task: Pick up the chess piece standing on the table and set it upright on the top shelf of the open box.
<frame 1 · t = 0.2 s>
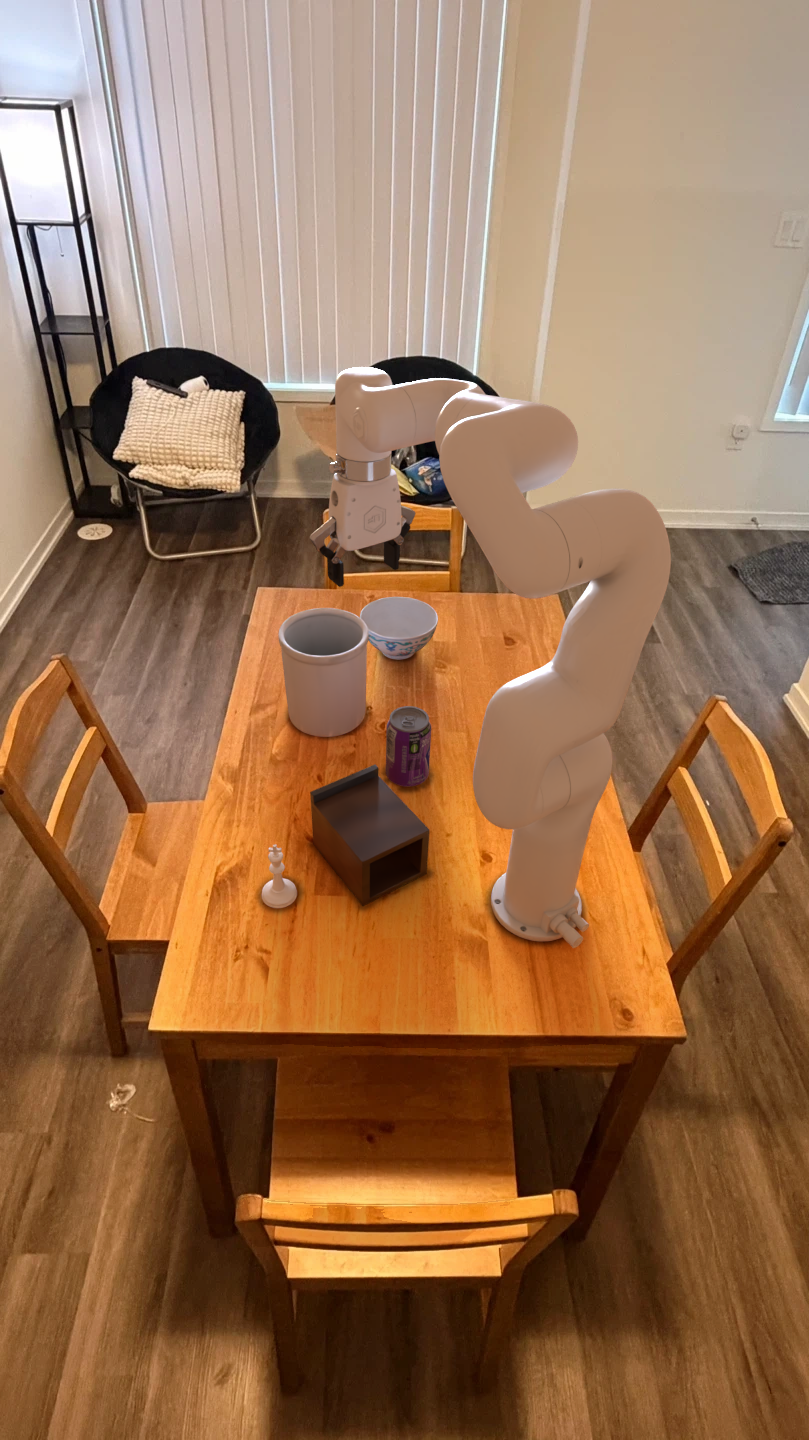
hand: (364, 574, 129), 31 cm above the table, tool pointing down, fingers open, 9 cm apart
beverage can: (407, 775, 140), on the table
open box: (369, 858, 126), on the table
utensil holder: (326, 714, 152), on the table
chinaware: (398, 650, 168), on the table
chess piece: (279, 895, 120), on the table
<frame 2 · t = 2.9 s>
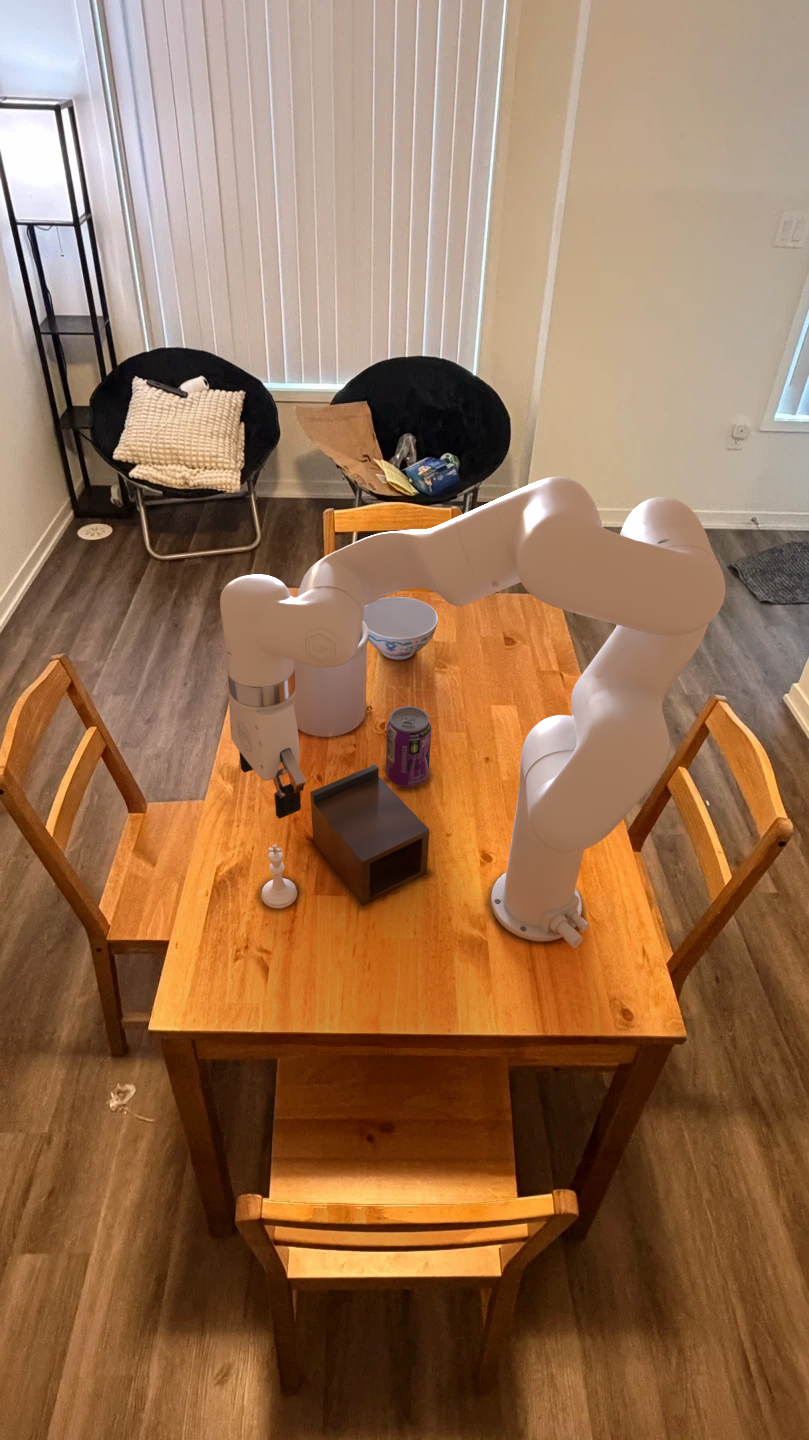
hand: (270, 789, 108), 20 cm above the table, tool pointing down, fingers open, 9 cm apart
nothing on the table moved.
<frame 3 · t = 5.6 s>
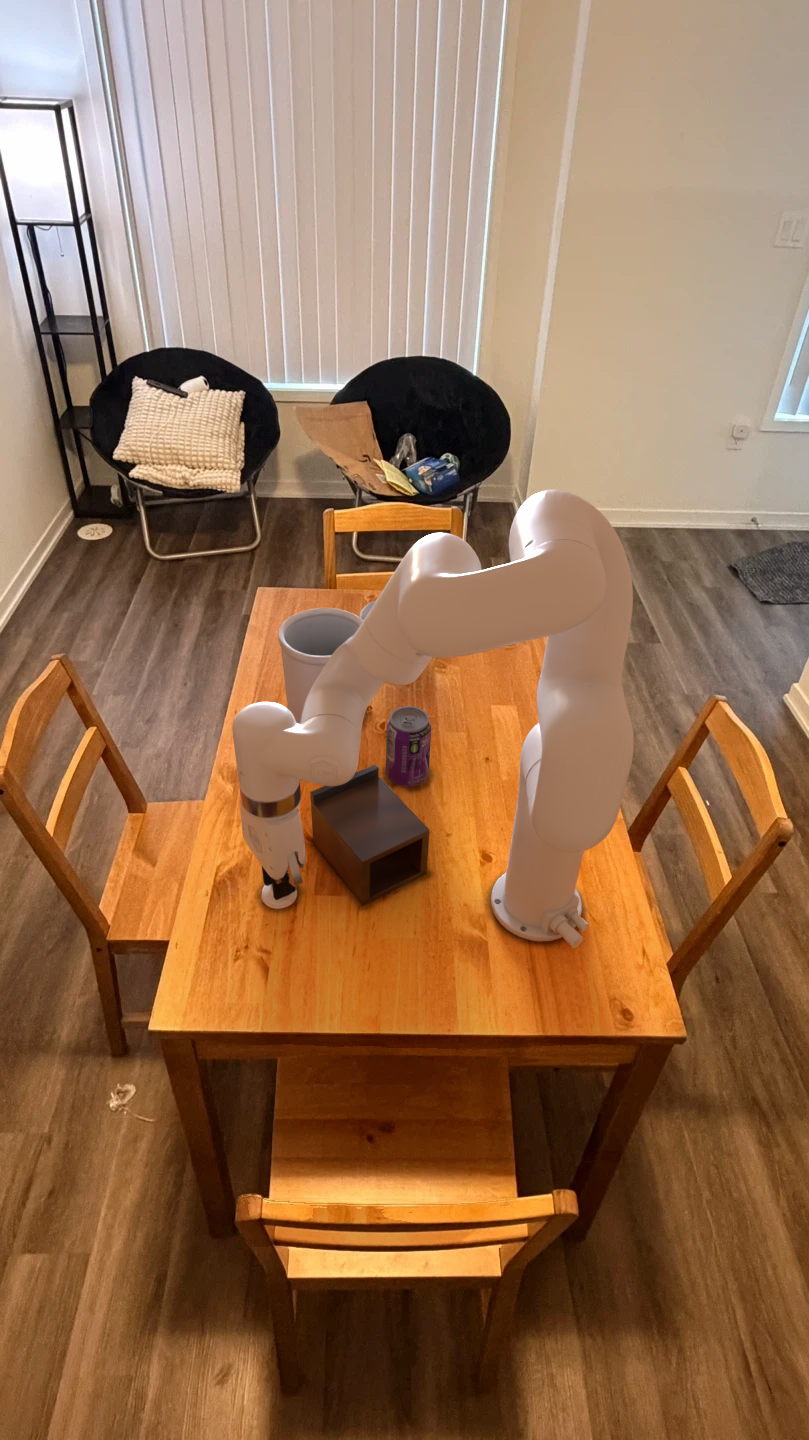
hand: (279, 886, 119), 2 cm above the table, tool pointing down, fingers closed on chess piece
chess piece: (279, 895, 120), on the table, touching gripper
everything else where it was.
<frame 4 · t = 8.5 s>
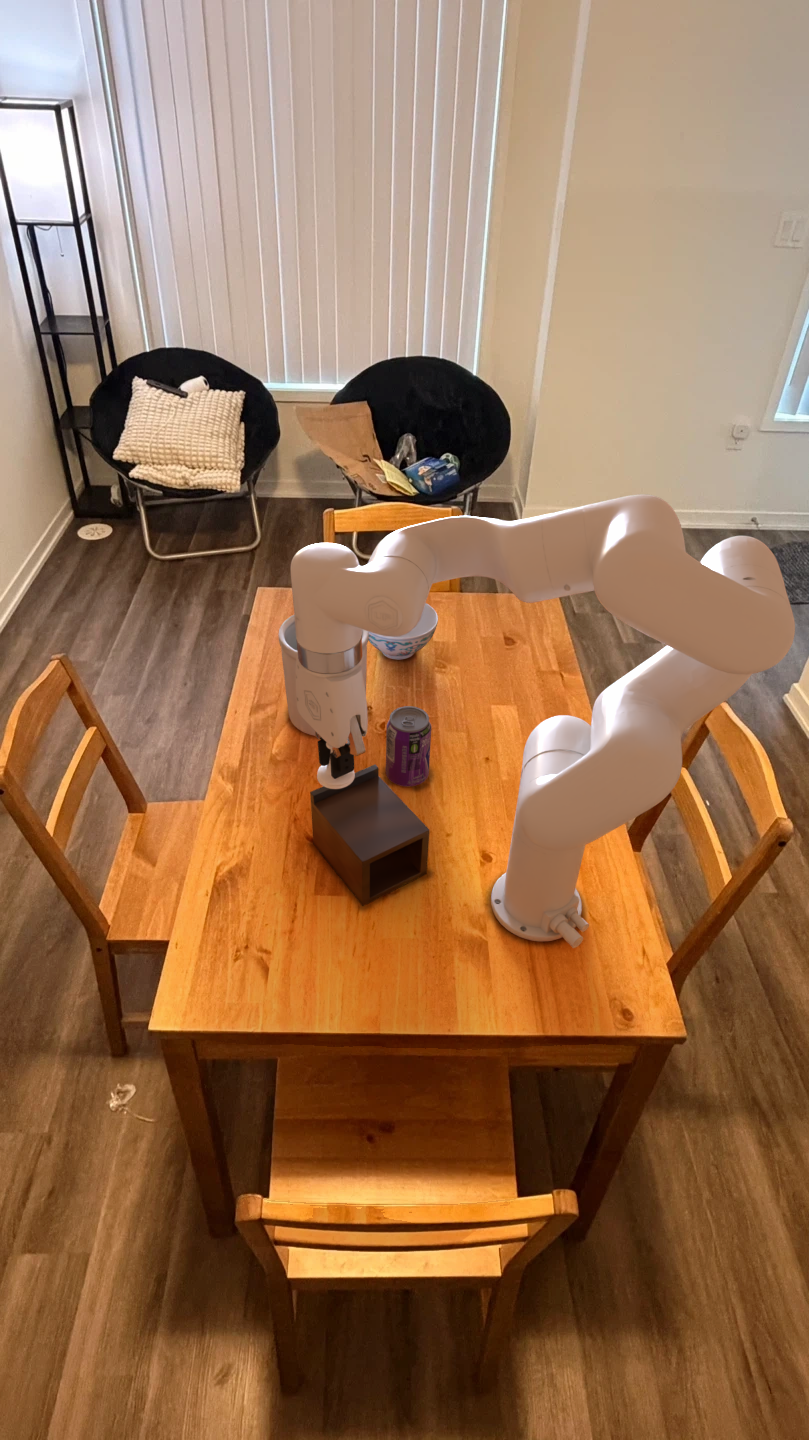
hand: (336, 766, 111), 21 cm above the table, tool pointing down, fingers closed on chess piece
chess piece: (336, 777, 112), point 19 cm above the table, touching gripper
everything else where it was.
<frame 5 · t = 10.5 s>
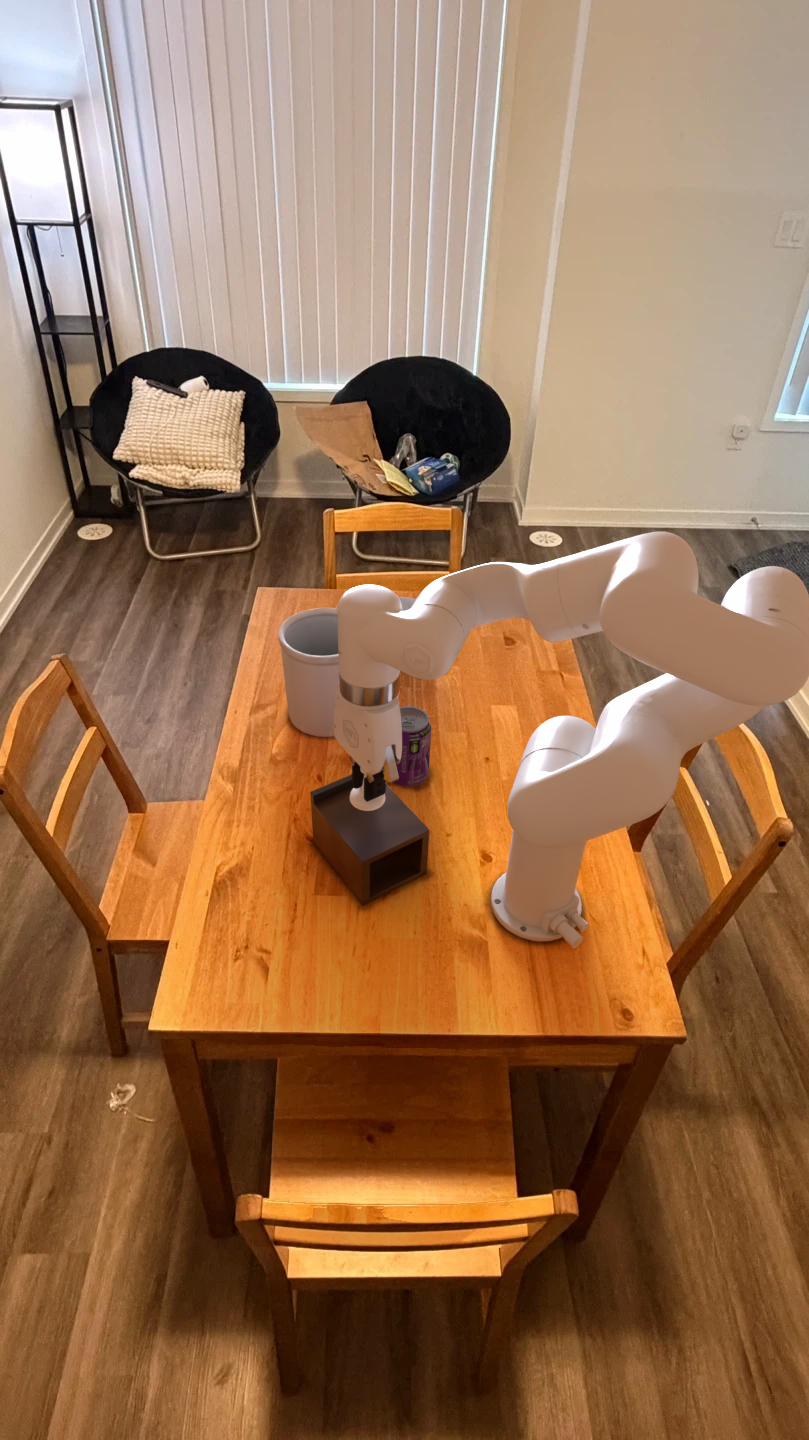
hand: (368, 789, 117), 14 cm above the table, tool pointing down, fingers closed on chess piece
chess piece: (367, 799, 118), point 12 cm above the table, touching gripper
everything else where it was.
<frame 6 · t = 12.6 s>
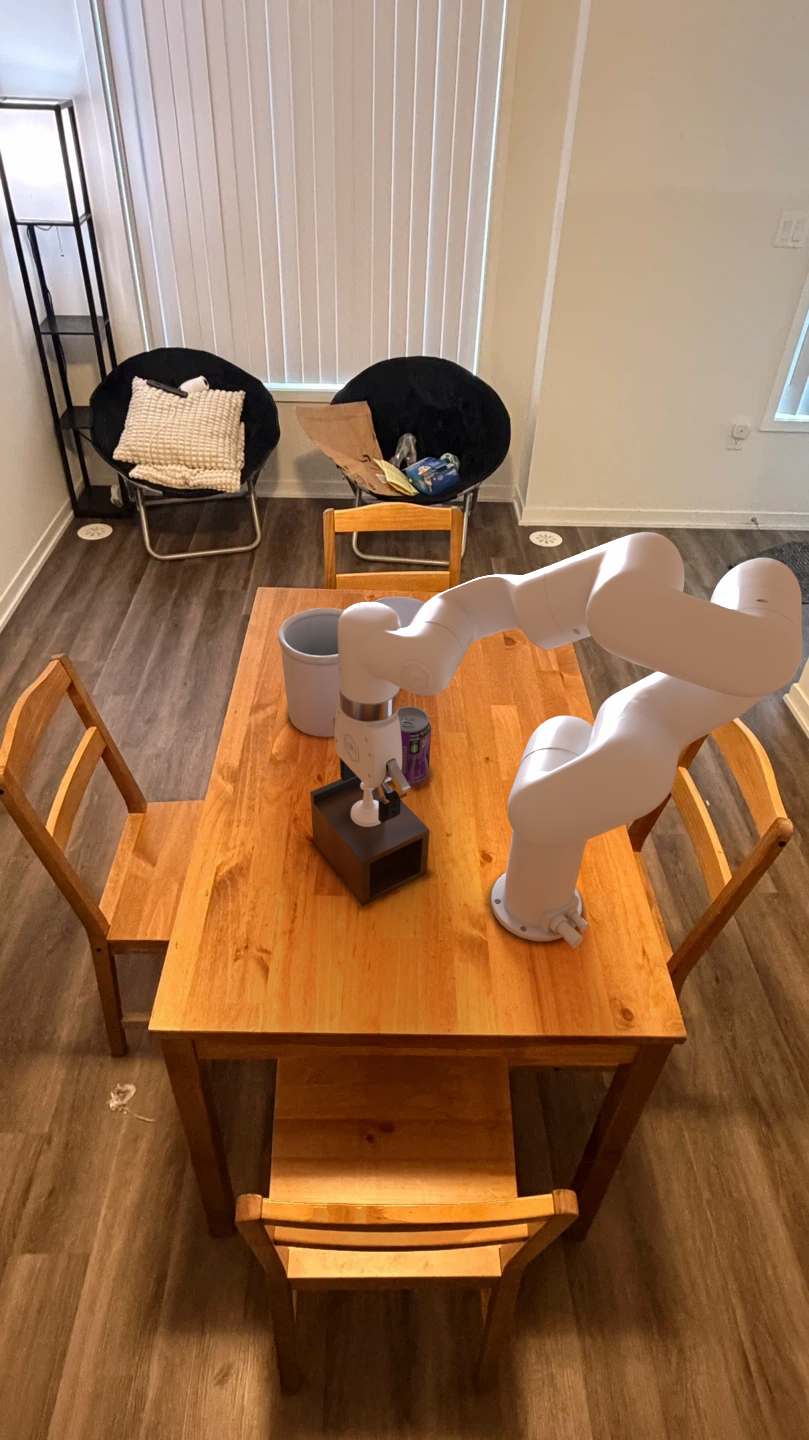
hand: (369, 796, 118), 13 cm above the table, tool pointing down, fingers open, 9 cm apart
chess piece: (368, 815, 120), point 9 cm above the table, touching open box
everything else where it was.
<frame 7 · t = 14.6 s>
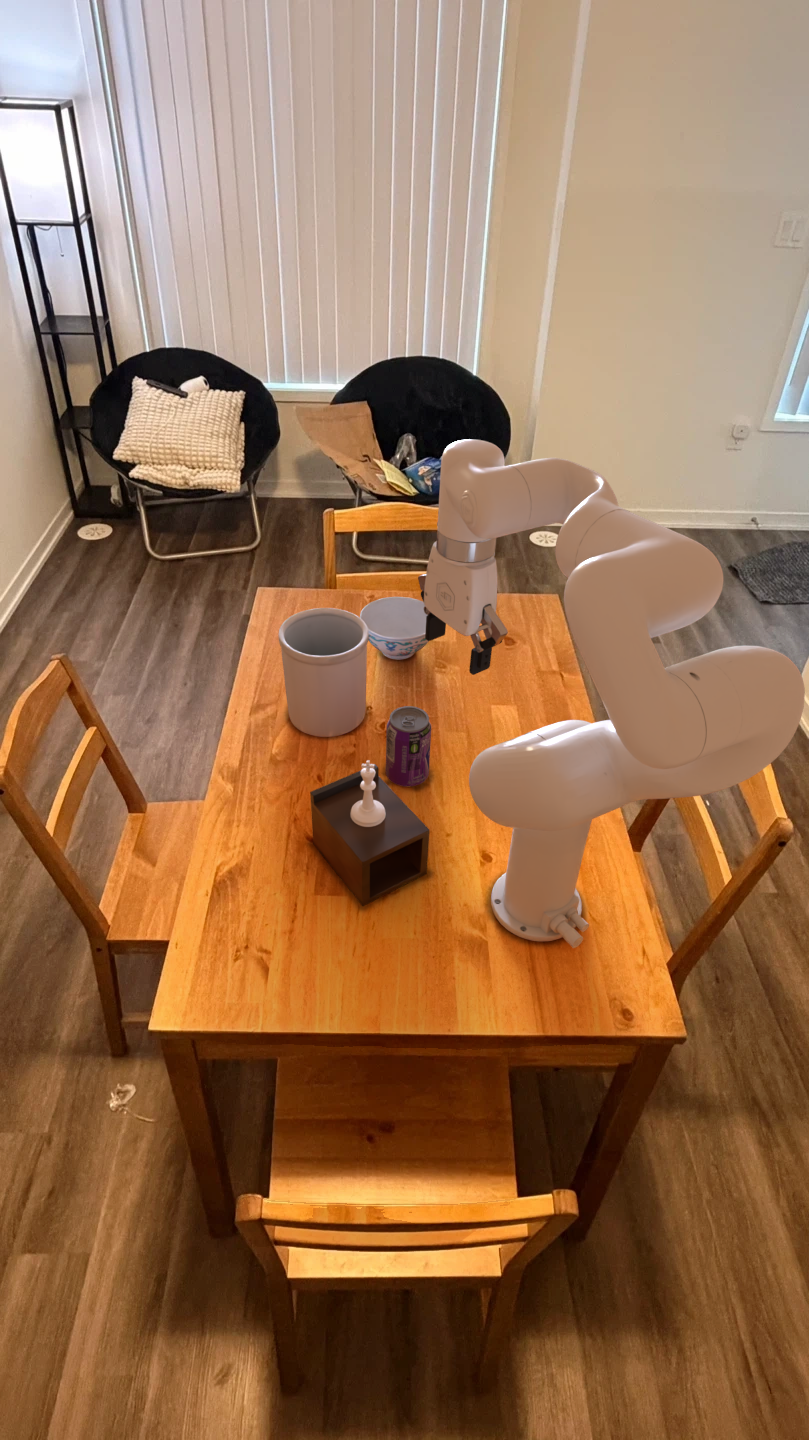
hand: (456, 653, 119), 28 cm above the table, tool pointing down, fingers open, 9 cm apart
nothing on the table moved.
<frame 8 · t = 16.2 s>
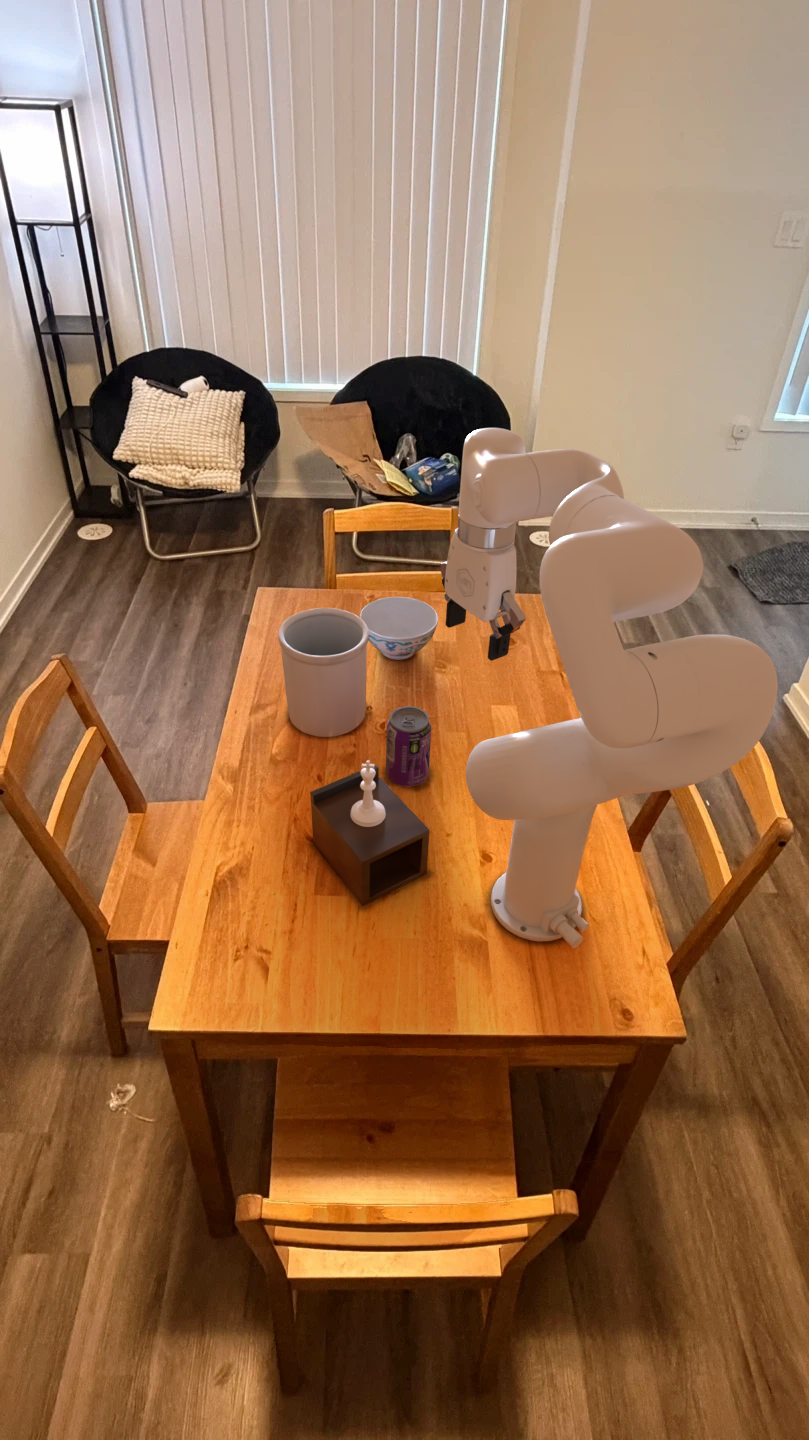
hand: (476, 640, 121), 28 cm above the table, tool pointing down, fingers open, 9 cm apart
nothing on the table moved.
at the end: chess piece inside the target area on the open box (1.1 cm from its centre), point 9.0 cm above the open box's base; chess piece tilted 0°; the gripper is holding nothing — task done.
